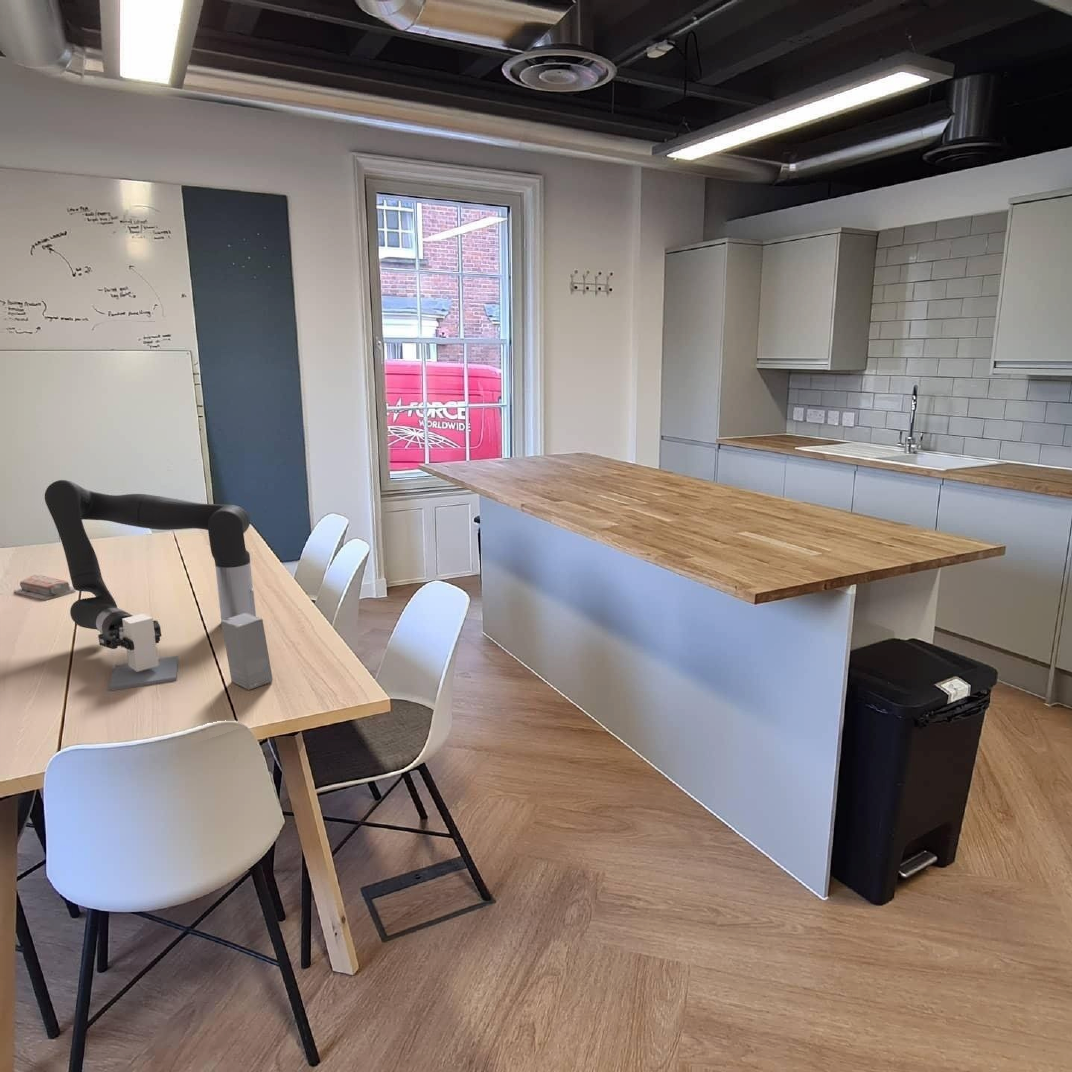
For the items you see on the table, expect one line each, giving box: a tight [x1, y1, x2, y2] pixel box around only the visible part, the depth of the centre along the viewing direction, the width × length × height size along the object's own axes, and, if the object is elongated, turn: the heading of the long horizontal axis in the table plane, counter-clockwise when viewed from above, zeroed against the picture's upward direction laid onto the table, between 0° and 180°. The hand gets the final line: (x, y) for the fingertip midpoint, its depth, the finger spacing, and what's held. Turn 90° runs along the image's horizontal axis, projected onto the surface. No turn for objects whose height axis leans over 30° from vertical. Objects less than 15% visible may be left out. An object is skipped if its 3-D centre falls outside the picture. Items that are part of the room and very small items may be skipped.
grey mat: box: [108, 655, 180, 692], centre depth 183 cm, size 14×14×1 cm
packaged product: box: [13, 574, 77, 601], centre depth 245 cm, size 18×5×10 cm
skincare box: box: [220, 613, 274, 691], centre depth 176 cm, size 8×7×16 cm
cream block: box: [122, 613, 159, 672], centre depth 181 cm, size 5×5×12 cm
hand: (144, 642), depth 179 cm, fingers closed on cream block, 5 cm apart
